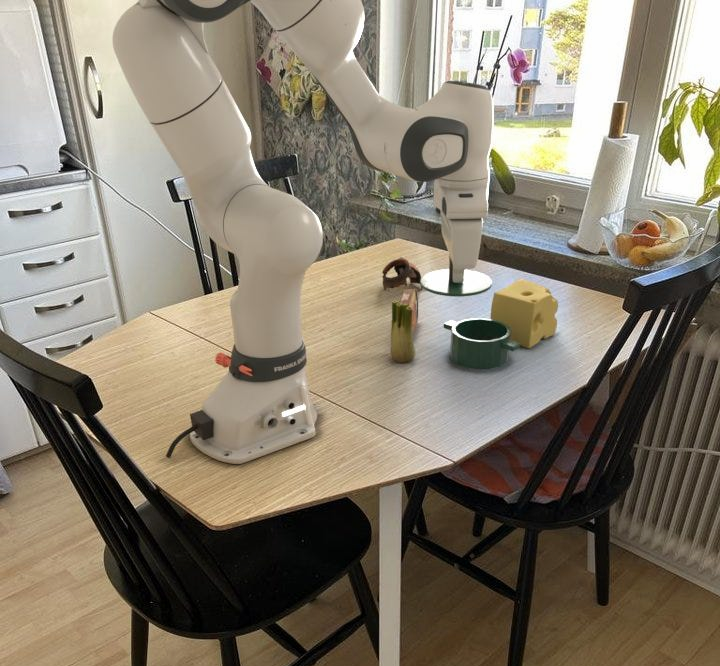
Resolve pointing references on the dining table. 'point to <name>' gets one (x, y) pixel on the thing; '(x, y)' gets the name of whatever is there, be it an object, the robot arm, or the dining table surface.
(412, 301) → the tin
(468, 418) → the dining table surface
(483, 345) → the pot
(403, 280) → the brown rounded piece
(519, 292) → the cheese
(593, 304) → the dining table surface
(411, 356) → the fennel bulb
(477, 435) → the dining table surface
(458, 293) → the lid
